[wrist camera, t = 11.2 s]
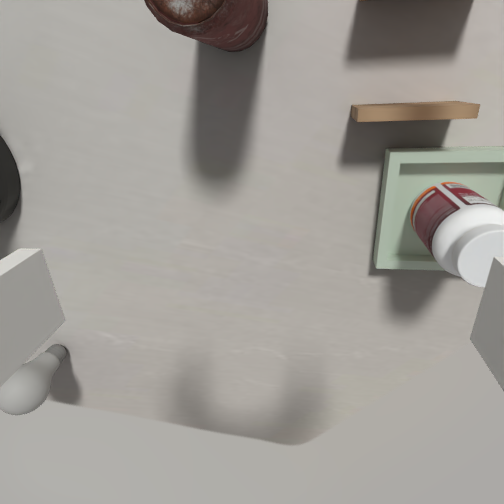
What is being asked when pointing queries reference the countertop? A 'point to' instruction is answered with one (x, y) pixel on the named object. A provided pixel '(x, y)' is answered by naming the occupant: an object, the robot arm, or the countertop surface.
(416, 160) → the tray
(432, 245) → the pill bottle
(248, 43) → the can
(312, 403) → the countertop surface
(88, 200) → the countertop surface
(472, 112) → the rack
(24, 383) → the lightbulb
